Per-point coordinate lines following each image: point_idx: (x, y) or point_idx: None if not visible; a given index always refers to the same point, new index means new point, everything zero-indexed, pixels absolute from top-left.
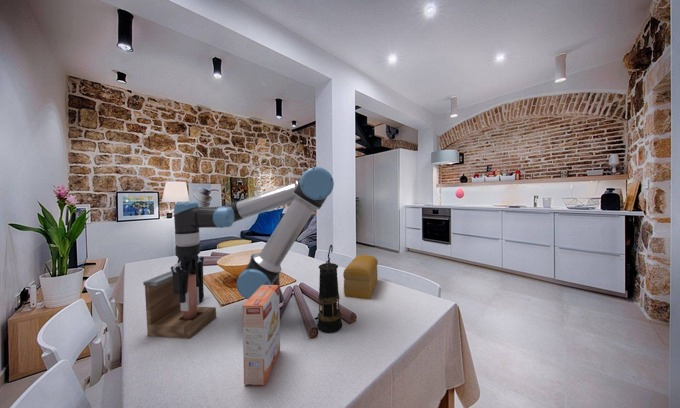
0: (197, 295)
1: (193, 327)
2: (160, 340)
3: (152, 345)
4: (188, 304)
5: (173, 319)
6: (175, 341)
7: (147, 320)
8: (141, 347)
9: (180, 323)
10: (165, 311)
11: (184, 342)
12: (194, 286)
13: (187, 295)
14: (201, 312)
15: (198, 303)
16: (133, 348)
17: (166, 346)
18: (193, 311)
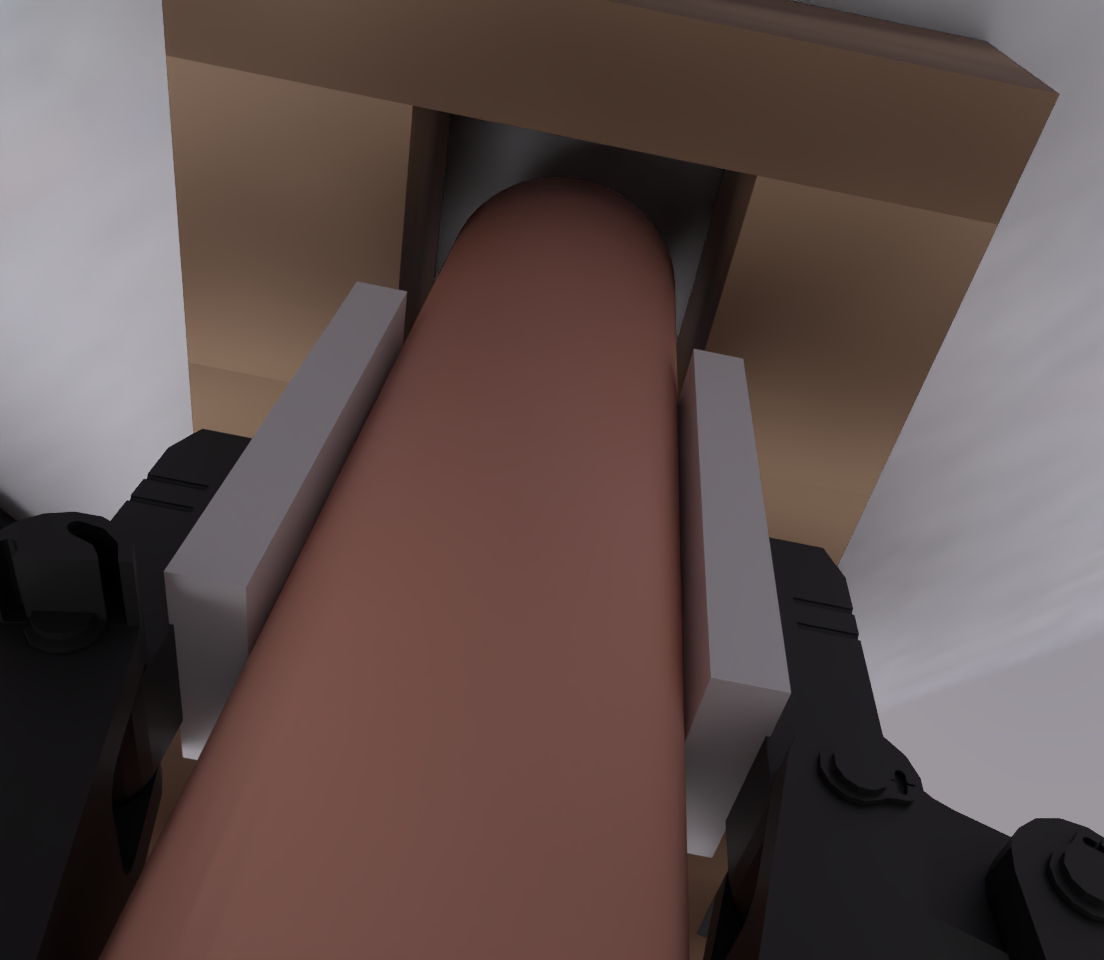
0: (338, 413)
1: (921, 54)
2: (895, 456)
3: (995, 486)
4: (718, 430)
5: None
6: (995, 245)
7: None
8: (997, 574)
9: (839, 345)
10: None
11: (1087, 77)
12: (482, 693)
13: (758, 620)
14: (408, 159)
15: (377, 292)
16: (987, 634)
17: (1099, 304)
18: (621, 264)
